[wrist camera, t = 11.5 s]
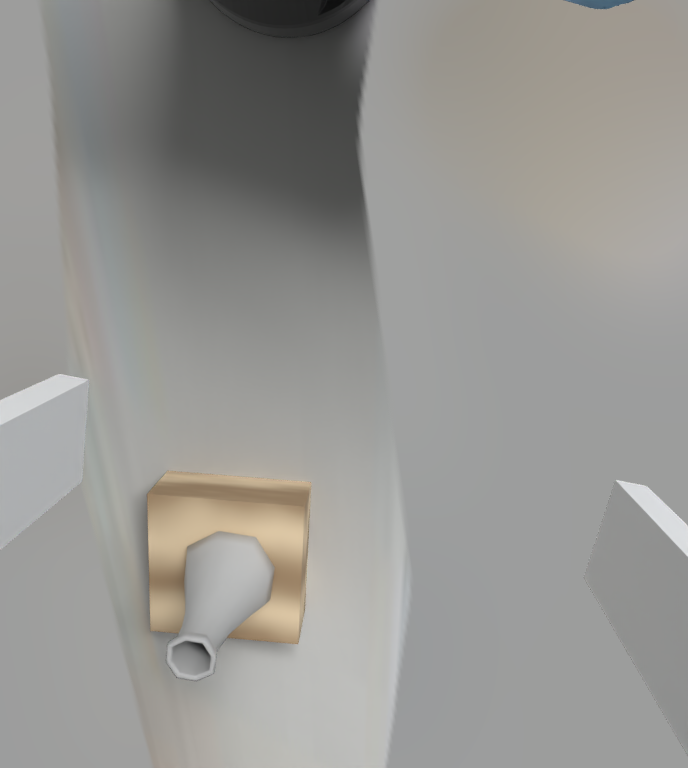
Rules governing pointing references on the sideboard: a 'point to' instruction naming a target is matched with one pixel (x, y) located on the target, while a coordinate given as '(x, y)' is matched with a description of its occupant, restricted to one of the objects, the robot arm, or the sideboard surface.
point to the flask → (218, 599)
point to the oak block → (233, 515)
